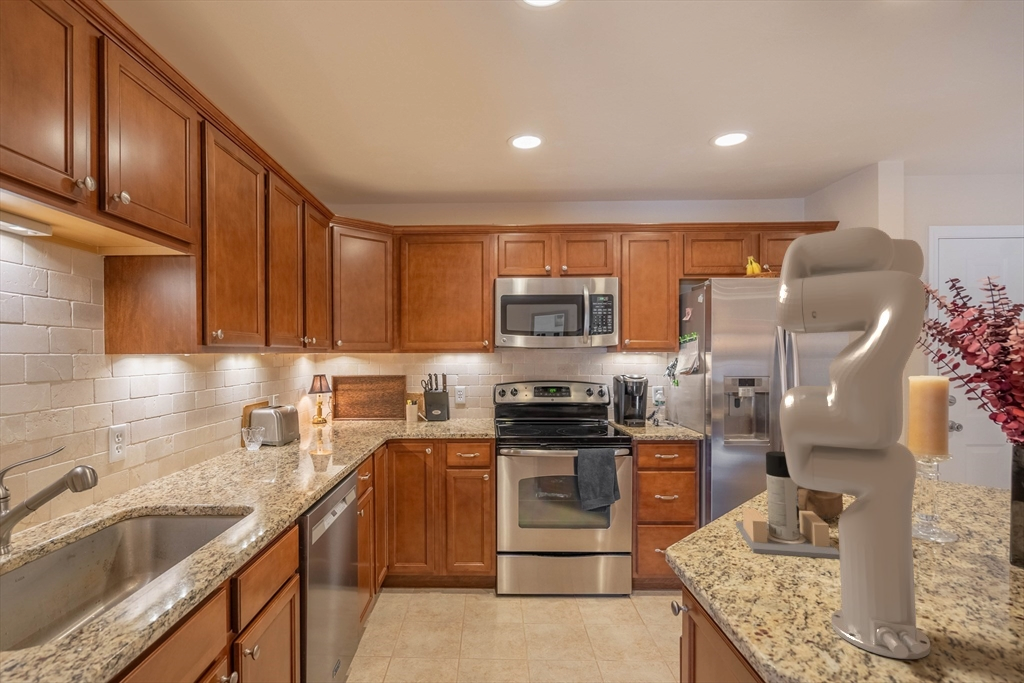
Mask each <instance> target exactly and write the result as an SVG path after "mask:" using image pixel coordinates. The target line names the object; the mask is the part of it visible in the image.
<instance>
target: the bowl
mask: <svg viewBox="0 0 1024 683" xmlns="http://www.w3.org/2000/svg"><path fill="white" fill-rule="evenodd" d="M843 495H844V494H841V493H834V492H826V491H819V490H812V489H806V488H803V487H800V486H798V497H799V511H812V512H814V513H815V514H816V515H817V516H818V517H820V518H821V519H822V520H829V519H832V518H835V517H837V516H840V515H841V514H842V512H843V511H844V503H843V502H844V501H843Z"/></svg>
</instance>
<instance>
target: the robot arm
mask: <svg viewBox="0 0 1024 683" xmlns="http://www.w3.org/2000/svg"><path fill="white" fill-rule="evenodd" d="M924 259H925V258H924V253H923V250H922V248H921V246H920V244H919V243H918V242H917V241H915V240H913V239H907V238H905V239H904V238H903V239H902V238H891V237H890V236H889V234H887V232H884V231H883V230H881V229H880V228H875V227H870V226H862V227H861V226H859V227H850V228H844V229H837V230H831V231H825V232H817V233H812V234H810V233H809V234H805V235H804V234H803V235H801V236H798V237H797V238H795V239H794V240H793V241H791V243H790V244H789V245H788V247H787V249H786V251H785V254H784V257H783V260H782V265H781V270H780V274H779V275H780V276H779V281H778V285H777V291H776V296H775V297H776V298H775V300H776V301H775V313H776V319H777V321H778V323H779V326H781V328H783V330H784V331H787V332H789V333H792V334H800V335H801V334H802V335H803V334H804V335H805V334H821V333H823V334H824V333H825V334H827V333H848V332H849V334H848V345H846V346H845V347H844V348H843V349H842V350H841V351H840V352H839V353H838V354H837V355H836V356H835V357H834V358H833V360H832V361H831V363H830V364H829V367H828V375H829V376H828V377H829V384H830V385H799V386H795V387H791V388H789V389H787V391H785V392H784V394H783V396H782V398H781V401H780V404H779V426H780V432H781V438H782V444H783V450H784V452H785V456H786V462H787V467H788V471H789V474H790V477H791V479H792V480H793V482H794V483H795V484H797V485H798V486H800V487H803V488H806V489H812V490H819V491H826V492H834V493H841V494H843V495H847V496H851V497H852V496H853V497H855V498H856V499H855V500H853V501H852V502H851V503H850V504H849V505H848V506H847V507H846V508H845V509H843V510H842V512H841V513H840V515H839V518H838V525H837V526H838V529H837V530H838V547H839V548H838V549H839V550H838V551H839V554H840V559H839V570H840V571H839V574H840V577H839V578H840V593H841V594H840V595H841V596H840V597H841V598H840V599H841V609H838V610H836V611H834V612H833V613H832V614H831V616H830V623H831V627H832V628H833V630H834V631H835V632H836V634H838V635H839V636H840V637H841V638H842V639H844V640H846V641H847V642H849V643H850V644H852V645H854V646H856V647H858V648H860V649H861V650H862V649H863V650H865V651H867V652H871V653H873V654H877V655H879V656H883V657H888V658H892V659H899V660H900V659H901V660H917V659H922V658H925V657H927V656H928V655H929V654H930V653H931V641H930V639H929V637H928V636H927V635H926V634H925V633H924V632H923V631H921V630H920V629H919V628H918V627H917V616H916V615H917V613H916V610H917V609H916V591H915V574H914V573H915V570H914V567H915V566H914V552H913V551H914V550H913V548H914V547H913V520H912V516H913V511H912V510H913V501H914V500H913V499H914V492H915V487H916V479H917V462H916V458H915V456H914V453H913V452H912V450H910V449H909V448H908V447H906V446H905V445H903V444H902V443H900V442H898V441H899V440H900V438H901V436H902V435H903V434H902V433H903V425H904V399H903V398H904V394H903V393H904V392H903V391H904V390H903V389H904V388H903V376H904V370H905V367H906V365H907V363H908V361H909V359H910V357H911V355H912V353H913V351H914V349H915V347H916V345H917V343H918V340H919V337H920V335H921V332H922V328H923V325H924V320H925V316H926V315H925V314H926V302H927V300H926V299H927V298H926V289H925V286H924V284H923V282H922V280H921V277H922V275H923V270H924V266H925V265H924V264H925V262H924V261H925V260H924Z"/></svg>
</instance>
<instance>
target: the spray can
mask: <svg viewBox="0 0 1024 683" xmlns="http://www.w3.org/2000/svg"><path fill="white" fill-rule="evenodd" d="M765 471H766V472H765V475H766V492H767V493H766V495H767V496H766V498H767V516H768V517H767V520H768V524H769V533H770V535H771V536H772V537H774V538H777V539H780V540H786V541H795V540H799V538H800V520H799V497H798V485H797V484H795V483H794V482H793V480H792V479H791V477H790V474H789V471H788V467H787V462H786V456H785V451H767V452H765Z"/></svg>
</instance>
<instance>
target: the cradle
mask: <svg viewBox="0 0 1024 683" xmlns="http://www.w3.org/2000/svg"><path fill="white" fill-rule="evenodd" d="M799 520H800V538H799V540H795V541H786V540H780V539H777V538H774V537H772V536H771V535H770V533H769V523H767V520H766V519H765V518H764V517H763V515H762V514H761V513H760V512H759V511H758V509H757V508H754V507H753V508H752V507H742V522H741V521H736V522H735V527H736V528H737V530H738V529H739V530H738V532H740V534H741V536H742V537H743V539H744V541H745V542H746V543H747V545H748V547H749V548H750V550H751V551H752V553H753V554H764V555H776V556H777V555H779V556H791V557H805V558H807V557H808V558H818V559H819V558H821V559H835V560H840V554H839V550H838V549H837V548H836V547H835V546H834V545H833V544H832V543H830V528H829V527H830V525H829V524H828V523H827V522H826V521H824V519H821V518H820V517H818V516H817V515H816V514H815V513H814V512H812V511H799Z"/></svg>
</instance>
